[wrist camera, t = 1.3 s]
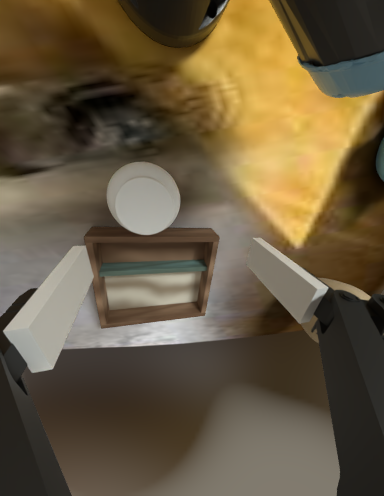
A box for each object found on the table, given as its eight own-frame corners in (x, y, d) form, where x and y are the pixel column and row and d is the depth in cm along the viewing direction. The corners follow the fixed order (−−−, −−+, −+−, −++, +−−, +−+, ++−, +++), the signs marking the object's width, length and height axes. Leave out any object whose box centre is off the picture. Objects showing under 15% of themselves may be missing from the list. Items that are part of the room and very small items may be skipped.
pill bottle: (130, 216, 30) (119, 256, 18) (110, 167, 26) (79, 174, 14) (174, 205, 31) (193, 235, 19) (162, 156, 27) (176, 152, 15)
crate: (91, 226, 29) (83, 236, 25) (211, 228, 35) (219, 236, 31) (105, 311, 38) (101, 328, 34) (199, 301, 44) (204, 315, 40)
